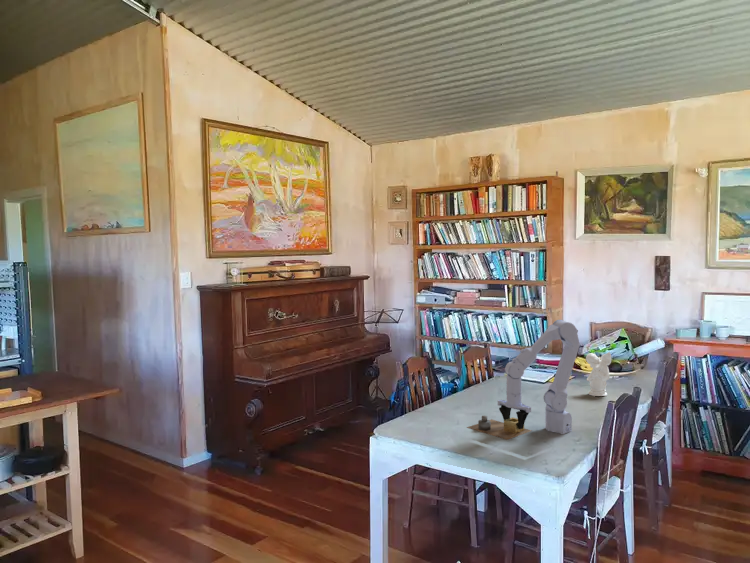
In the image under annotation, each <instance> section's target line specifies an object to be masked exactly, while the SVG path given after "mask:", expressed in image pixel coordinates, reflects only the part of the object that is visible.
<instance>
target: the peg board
mask: <svg viewBox="0 0 750 563" xmlns="http://www.w3.org/2000/svg"><path fill="white" fill-rule="evenodd" d="M477 422H478V423H476V424H472V425H469V426H466V428H467V429H470V430H473V431H476V432H480V433H483V434H487V435H489V436H493V437H497V438H500V439H503V440H505V441H508V440H510V439H513V438H515V437H518V436H522V435H525V434H527V433H530V432H532V431H533V430H532V429H528V428H525V427H524V431H521V432H519V433H516V434H515V433H512V432H508V431H505V430H504V421H499V420H495V419H492V418H491V419H488V416H487V415H481V419H479V420H478V421H477Z"/></svg>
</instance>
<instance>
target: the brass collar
mask: <svg viewBox="0 0 750 563" xmlns="http://www.w3.org/2000/svg"><path fill="white" fill-rule="evenodd" d="M503 423H504V430H505V431H508V432H512V433H515V434H516V433H519V432H521V431H524V428H525V425H524V426H523V429H519V428H518V417H510V418H509V419H506V420H504V419H503Z"/></svg>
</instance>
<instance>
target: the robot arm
mask: <svg viewBox="0 0 750 563" xmlns="http://www.w3.org/2000/svg"><path fill="white" fill-rule="evenodd" d="M578 332H579V330H578V329H577V327H576V326H575V325H574V323H572V322H569V321H566V320H564V319H557V320H555V321H553V323H552V324H550V325H549V326H548V327H547V328H546V330H544V332H543V333H542V334H541V335H540V336H539V338H538V339H537V340H536V341H535V342H534V343H533V344H532V345H531V346H530V347H525V348H521V349H520V353H519V354H517V356H516V357H514V358H512V359H511V361H509V362H507V363H506V365H505V367H504V369H503V370H504V372H505V373H506V400H502V399H498V400H497V406H499V408H498V410H499V411H500V414H501V416H502V418H503V421H504V420H506V419H509V418H511V413H512V409H513V410H517V411H516V416H517V417H516V418H517V419H518V428H519V429H523V426H524V427H525V422H526V420H527V417H528V415H529V414H530V413H532V406H529V405H526V404H523V403H522V396H523V395H522V393H523V392H522V377H523V376H524V373H525V370H527V368H529V366H531V364H533V363H534V362H535V361H536V360H537V356H538V353H540V352H541V351H542V350H543V349H544V348H546V346H547V345H549V344H550V343H552V341H557V340H558V341H559V340H560V341H561V342H562V344H563V345H564V347H563V349H562V353H561V356H560V358H559V362H558V365H557V368H556V372H555V375H554V379H553V382H552V384H550V385H549V386H548V388H547V390H546V391H545V393H544V395H543V402H544V404H545V405H546V406H545V430H546V431H547V432H551V433H557V434H561V435H566V434H567V433H570V432H572V430H573V428H572V426H573V425H572V424H573V421H572V419H573V418H572V414H571V413H570V412H568V411H566V408H567V405H568V400H567V399H568V390H567V387H568V384H569V380H570V377H571V375H572V371H573V368H574V364H575V361H576V359H577V355H578V352H579V349H580V345H581V344H580V340H579V335H578V334H579V333H578Z"/></svg>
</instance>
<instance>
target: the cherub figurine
mask: <svg viewBox="0 0 750 563" xmlns="http://www.w3.org/2000/svg"><path fill="white" fill-rule="evenodd" d="M585 361H586V362H587V364H588V365H589V366H590V368H592V369H591V372H590V373H589V375H588V376H587V378H586V381H587V382H589V387H590V389H589V391H588V392H587V394H588V395H589V396H592V397H595V396H605V397H607V396H608V393H607V390H606V388H607V381H608V380H610V369H609V366H610V365H611V364H612V354H611V352H610V351H609V352H606V353H604V354H602V355H601V356H600V357H598V356H597V354H595V353H594V352H590V353H589V352H588V353H587V354H586V356H585Z"/></svg>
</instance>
